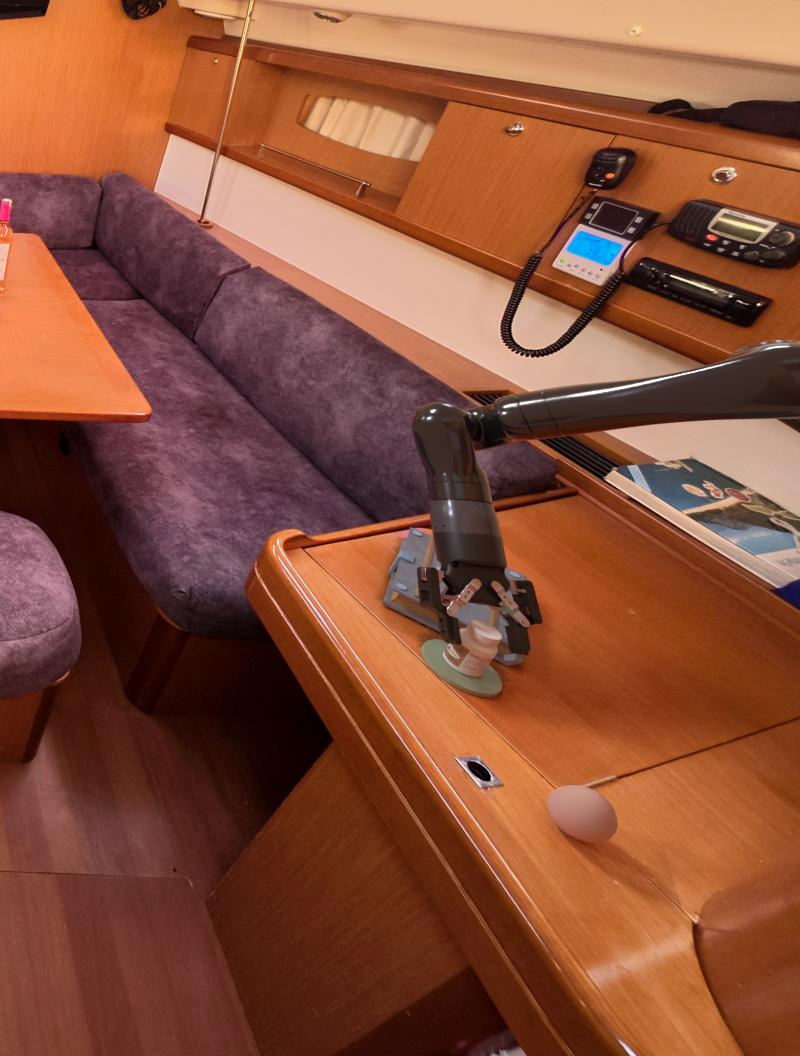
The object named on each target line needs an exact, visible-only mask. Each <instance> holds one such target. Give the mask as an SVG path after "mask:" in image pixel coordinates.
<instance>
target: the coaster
mask: <svg viewBox="0 0 800 1056" xmlns="http://www.w3.org/2000/svg"><path fill="white" fill-rule="evenodd" d="M448 645H449V643H446V642H445V641H444V639H437V638H434V639H429V640H428V639H427V640H426V641H424V643H423V644H422V646H421V648H420V655H421V658H422V660H423V661H424V662H425V664H426V665H427V667H428V668H429V669H430V670H431V671H432V672H433V673H434V674H435V675H437V677H439V678H440V679H442V680H443V681H444V682H446V683H447V684H449V685H451V686H452V687H454V688H456V689H458V690H459V691H461V692H464V693H467V694H469V695H472V696H475V697H476V696H477V697H481V698H493V697H497V696H498V695H499V694H500V693H501V691H502V690H503V681H502V679H501V676H500V675H499V674H498V672H497V671H496V670H495V669H494V668H493V667H492V666H491V664H489V665H488V666H487V668H486V669H485V670H484V672H483V673H482V674H481V675H480V676H478V677H471V676H467V675H464V674H462V673H460V672H458V671H456V670H455V669H454V668H452V667H451V666H450V665H449V664H448V663H447V662H446V661H445V659H444V657H443V652H444V651H445V649H446V648H447V646H448Z"/></svg>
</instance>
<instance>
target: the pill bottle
mask: <svg viewBox="0 0 800 1056" xmlns="http://www.w3.org/2000/svg"><path fill="white" fill-rule="evenodd" d="M460 635H461V641H462V644H461V645H455V644H449V645H448V646H447V648H446V649H445V651H444V652H443V657H444V659H445V661H446V662H447V663H448V664H449V665H450V666H451V667H452V668H454V669H455V670H456V671H458V672H460V673H462V674H464V675H467V676H471V677H478V676H480V675H481V674H482V673H483V672H484V670H485V669H486V668H487V666H488V665H491V662H492V661H493V660H494V659H493V658H494V657H495V656H496V654H497V652H498V648H497V645H498V644H499V642H500V641H501V639H502V635H501V633H500V632H499V631H498V630H497V629H496V628H495V627H493V626H492V625H490V624H488V623H486V622H483V621H480V620H472V621H471V622H470V623H469V624H468V626H467V627H466V628H463V629H460Z"/></svg>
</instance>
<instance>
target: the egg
mask: <svg viewBox="0 0 800 1056" xmlns="http://www.w3.org/2000/svg"><path fill="white" fill-rule="evenodd" d="M546 807H547V811H548V815H549V816H550V818H551V820H552V821H553V823H554V824H555V825H556V826H557V828H559V829H560V830H561V831H563V832H564V833H565V834H567V835H568V836H569V837H572V838H573V839H575V840H578V841H581V842H584V843H590V844H601V843H605V842H607V841H609V840H611V838H613V836H614V835H616V832H617V830H618V816H617V813H616V810H615V808H614V807H613V805H612V803H610V801H609V800H608V799H607V798H605V796H604V795H603V794H601V793H599V792H598V791H596V790H595V789H592V788H590V787H587V786H583V785H578V784H568V785H561V786H559V787H556V788H555V789H553V790H552V791H551V792H550V793H549V795H548V796H547V799H546Z"/></svg>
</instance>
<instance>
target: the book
mask: <svg viewBox="0 0 800 1056" xmlns="http://www.w3.org/2000/svg"><path fill="white" fill-rule="evenodd" d="M418 567H434V568H436V569H437V570H440V568H441V564H440V562H439V561H438V560H437V557H436V551H435V545H434V538H433V535H431V534H428V533H426V532H424V531H421V530H418V529H416V528H414V527H412V526H410V527H409V530H408V534H407V537H406V539H402V541H401V544H400V548H399V551H398V554H397V555H396V557H395V558H394V560H393V562H392V564H391V566H390V568H389V571H388V576H390V579H389V582H388V584H387V585H388V586H387V589H386V592H385V595H384V598H383V601H382V605H384V606H386V607H388V608H390V609H392V610H394V611H397V612H398V613H401V614H403V615H404V616H406V617H408V618H410V619H413V620H414V621H416V622H418V623H420V624H423V625H425V626H427V627H429V628H431V629H432V630H434V631H437V632H439V633H440V630H439V624H438V618H437V615H436V613H435V612H433V611H431V610H429V609H427V608H423V607H421V605H420V601H419V589H418V578H417V568H418ZM504 572H505V575H506V577H507V578H508V580H512V579H513V580H516V579H518V580H528V579H527V577H526V574H524V573H521V572H518V571H517V570H515V569H512V568H509V567H508V566H507V567H506V568H505V571H504ZM439 584H440V594H441V593H442V592H443V590H444V589H445V588H446V585H445V584H444V582H443V581H441V583H439ZM507 594H508V595H509V596H510V597H511V599H512V600H513V597H512V593H511V592H509V591H507ZM500 603H502V602H500ZM454 618H458V623H459V629H463V628H466V627H467V626H468V624H469V623H470V622H471V621H472V620H480V621H483V622H486V623H488V624H490V625H492V626H493V627H495V628H496V629H497V630H498V631H499V632H500V633H501V635H502V639H501V641H500V642H499V644H498V645H497V648H498V652H497V654H496V656H495V657H494V658H493V660H495V661H497V662H499V663H501V664H504V665H505V666H507V667H509V666H515V665H519V664H522V663H523V662H524V661H525V657H526V655H520V654H514V653H511V652H510V650H509V645H508V640H507V635H506V629H505V625H507V626H509V625H508V624H507V623H506V622H505V621H504V620H503V619H502V617H501V616H500V615H499V614H498V613H497V612H496V611H494V610H492V609H491V608H490V607H489V606H488V605H480V604H475V603H467V604H466V605H465V606H462V607H461V608H460V610H459V611H458V612H457V614H456V615H455V616H454Z"/></svg>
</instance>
